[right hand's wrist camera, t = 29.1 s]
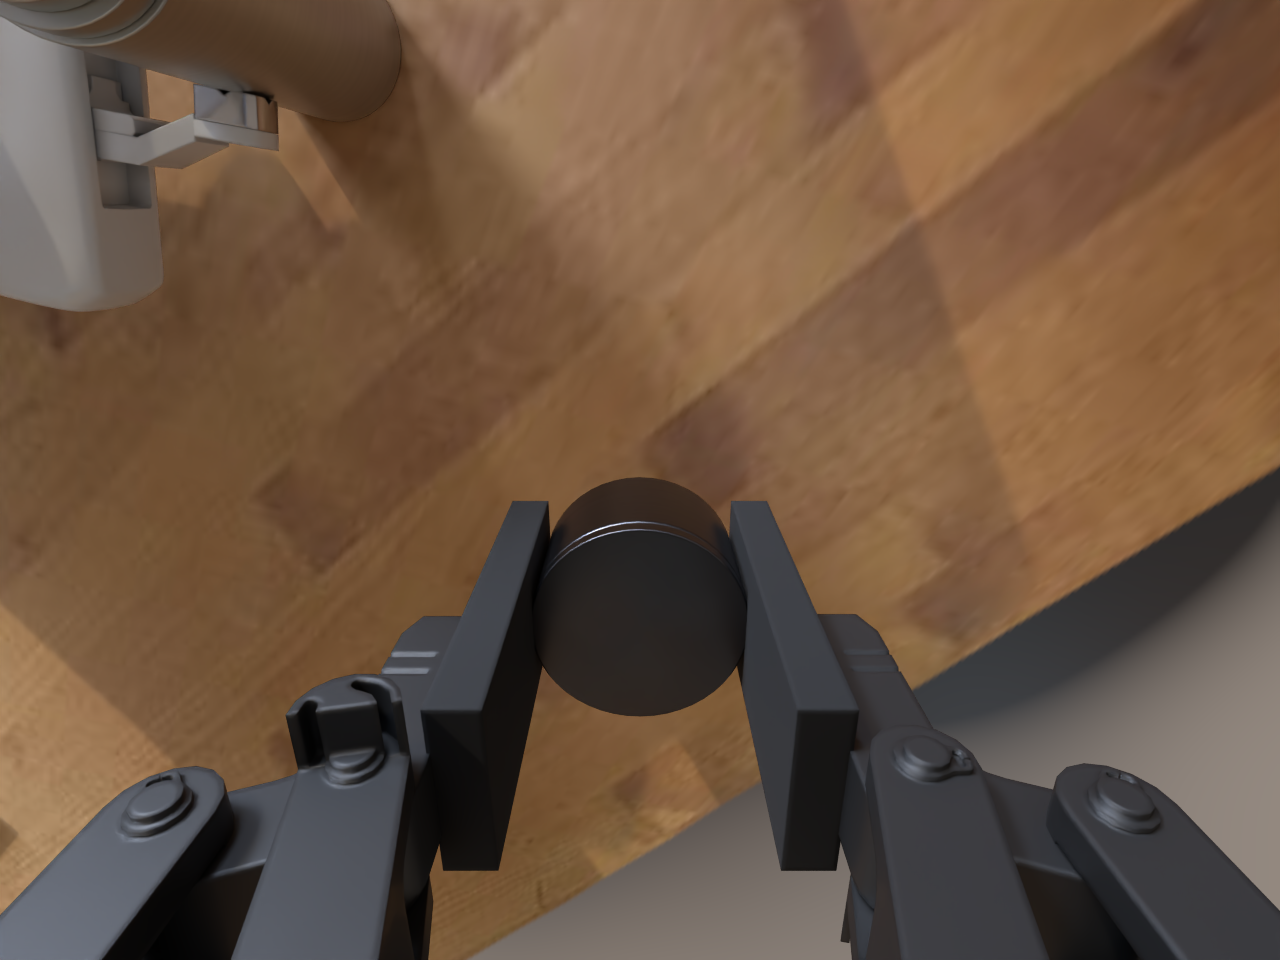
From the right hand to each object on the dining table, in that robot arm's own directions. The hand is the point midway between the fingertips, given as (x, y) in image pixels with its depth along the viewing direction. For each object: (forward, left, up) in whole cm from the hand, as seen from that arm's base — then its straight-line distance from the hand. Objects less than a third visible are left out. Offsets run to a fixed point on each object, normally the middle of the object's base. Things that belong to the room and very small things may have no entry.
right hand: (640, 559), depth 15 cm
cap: (0, 0, +2) cm, 2 cm away
